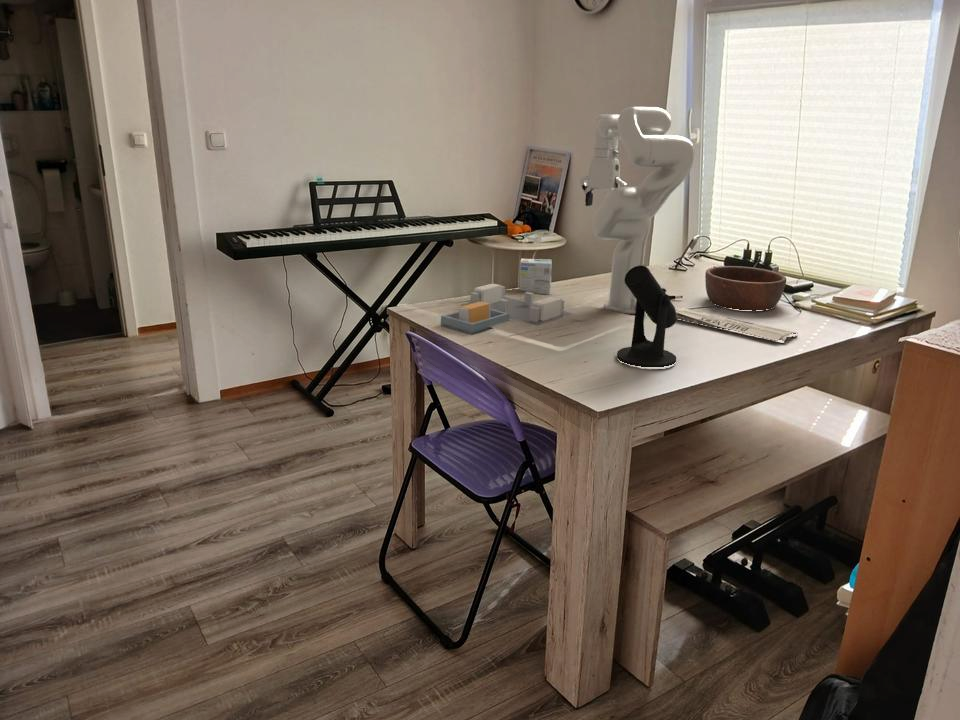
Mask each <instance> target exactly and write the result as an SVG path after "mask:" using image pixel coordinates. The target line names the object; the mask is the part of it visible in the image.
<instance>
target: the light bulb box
mask: <svg viewBox="0 0 960 720" xmlns="http://www.w3.org/2000/svg"><path fill="white" fill-rule="evenodd" d="M552 264H553V262H552V259H544V258H543V259H542V258H539V259H538V258H537V259H536V258H520V261H519V279H518V281H519V282H518V284H519V285H518V291H523V292H525V293H526V292H530V293H534V295H535V294H536V295H537V294H538V295H550V294H551V288H552V287H551V286H552V285H551V284H552V269H553V267H552Z"/></svg>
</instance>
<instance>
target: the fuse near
mask: <svg viewBox="0 0 960 720" xmlns="http://www.w3.org/2000/svg"><path fill="white" fill-rule="evenodd" d="M562 300H563V299H562V298H558V297H554V296H550V297H547V298H543V299H539V300H536V301H533V306H534V307H538V308H540V312H539V320H542V321H544V320H547V319H550V318H553V317H556V316H559V315H560V314H561V306H562Z"/></svg>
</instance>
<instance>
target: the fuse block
mask: <svg viewBox="0 0 960 720" xmlns="http://www.w3.org/2000/svg"><path fill="white" fill-rule="evenodd" d="M534 298H535V293H531V292H526V291H525V292H524V301H523V300H520V299H515V298H511V297H506V286H503V285H502V299H500V300H499V301H498V302H494V303H491V309H493V310H497V311H501V312H505V313H509V319H511V320H514V321H515V320H516V321H519V322H523V323H526V324H531V325H534V326H540V325H543V324H547V323H550V322H553V321H555V320H559V319H561V318H565V317H568V316H571V315H574V312H569V311H565V300H564V299H562V306H561V314H560V315H559V316H556V317H553V318H550V319H547V320H544V321H542V320H539V312H540V308H538V307H534V306H533V303H534V302H535V299H534ZM469 301H470V302H467V303H463V304H460V307H461V306H465V305H469V304H473V303H476V302H480V293H476V292H474V291H473V292H470V300H469Z"/></svg>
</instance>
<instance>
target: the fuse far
mask: <svg viewBox="0 0 960 720" xmlns="http://www.w3.org/2000/svg"><path fill="white" fill-rule="evenodd" d="M502 286H503V285H502V284H497V283H489V284H486V285H481V286H477V287H475V288H473V292H476V293H480V302H485V303H489V304H491V303H494V302H498V301H499V300H500V299H502Z"/></svg>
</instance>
